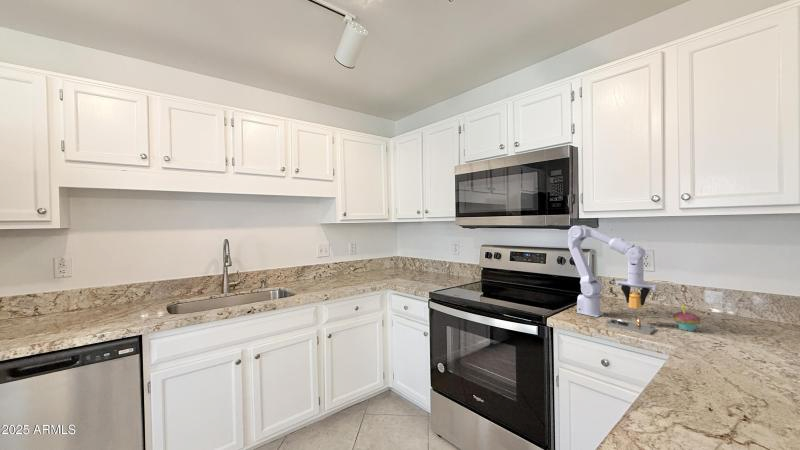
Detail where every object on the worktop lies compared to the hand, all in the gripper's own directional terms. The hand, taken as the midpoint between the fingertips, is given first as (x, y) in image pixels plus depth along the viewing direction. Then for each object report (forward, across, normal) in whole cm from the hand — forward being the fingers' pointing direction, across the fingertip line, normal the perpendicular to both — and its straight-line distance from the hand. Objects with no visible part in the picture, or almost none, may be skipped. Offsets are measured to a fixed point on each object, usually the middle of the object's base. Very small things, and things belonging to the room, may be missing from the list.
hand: (635, 303), depth 142 cm
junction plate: (+9, 0, +7) cm, 11 cm away
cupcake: (+9, -16, -7) cm, 20 cm away
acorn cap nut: (+2, 0, 0) cm, 2 cm away
